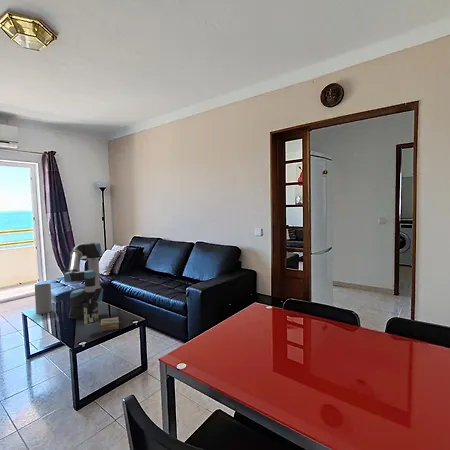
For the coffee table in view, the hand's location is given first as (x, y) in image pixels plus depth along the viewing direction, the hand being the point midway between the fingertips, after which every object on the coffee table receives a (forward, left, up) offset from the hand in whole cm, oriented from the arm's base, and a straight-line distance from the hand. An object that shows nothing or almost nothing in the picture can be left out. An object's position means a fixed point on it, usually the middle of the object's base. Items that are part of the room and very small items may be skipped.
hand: (91, 319), depth 221 cm
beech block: (-5, +13, -10) cm, 17 cm away
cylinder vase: (-68, -44, -10) cm, 82 cm away
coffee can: (0, 0, -3) cm, 3 cm away
